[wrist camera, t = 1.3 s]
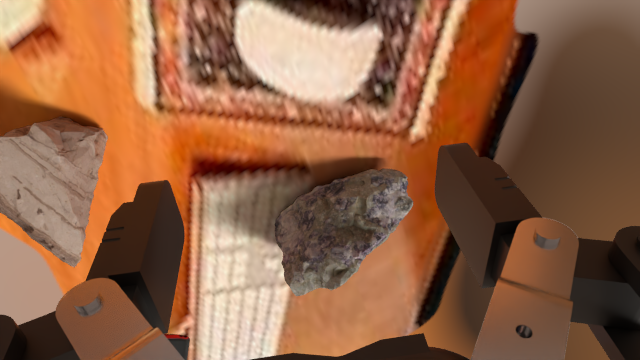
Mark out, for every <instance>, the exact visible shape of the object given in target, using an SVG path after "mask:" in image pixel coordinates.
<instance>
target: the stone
mask: <svg viewBox="0 0 640 360" xmlns="http://www.w3.org/2000/svg"><path fill="white" fill-rule="evenodd" d="M107 139H108V137H107V135H106V134H105V132H104V131H103V129H102V128H96V127H90V126H82V125H80V124H78V123H76V122H73V121H72V119H69V118H63V117H58V118H55V119H52V120H49V121H45V122H39V123H34V124H33V125H30V126H26V127H22V128H19V129H14V130H11V131H9V132H7V133H5V135H4V136H0V213H2V214H4V215H6V216H7V217H8V218H9V219H11V220H13V221H14V222H15V223H16V224H18V225H19V226H20V227H21V228H22V229H23V230H24V231H25V232H26V233H27V234H28V235H29V236H30V237H31V238H32V239H33V240H35V241H37V242H38V243H40V244H41V245H42V246H43V247H45V248H46V249H47V250H49V251H51V252H52V253H53V254H54V255H55V256H57V257H58V258H59V259H60V260H62V261H63V262H66V263H68V264H69V265H70V266H73V267H75V266H76V265H77V264H78V263H79V262H80V260H81V252H82V248H83V243H84V240H85V229H86V226H87V225H88V222H89V220H88V218H89V211H90V205H91V202H92V199H93V196H94V195H93V192H94V190H95V187H96V184H97V181H98V169H99V167H100V166H101V164H102V161H103V155H104V151H105V146H106V142H107Z"/></svg>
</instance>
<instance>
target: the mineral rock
mask: <svg viewBox="0 0 640 360" xmlns="http://www.w3.org/2000/svg"><path fill="white" fill-rule="evenodd" d="M407 185H408V181H407V176H406V175H404V174H403V173H402V172H400V171H397V170H393V169H381V170H380V171H378V170H375V169H370V170H367V171H364V172H361V173H358V174H355V175H353V176H347V177H345V178H344V179H337V180H334V181H333V182H332V183H330V184H326V185H324V186H317V187H315V188H314V189H313V191H311V192H310V193H307V194H304V195H301V196H299V197H298V198H297V199H296V200H295V202H294V203H293V204H292V205H290V206H289V207H288V208H286V209H285V210H284V211H282V212H281V214H280V215H279V217H278V218H277V219H276V223H275V226H276V228H275V236H276V241H277V244H278V246H279V247H280V249H281V250H282V251H283V261H282V265H283V268H284V271H285V272H284V277H285V281H286V283H287V284H288V285H289V286H290V288H291V290H292V292H293V293H294V294H295V295H296V296H300V295H304V294H306V293H308V292H310V291H312V290H315V289H317V288H328V289H330V290H333V289H336V288H338V287H339V286H341V285H343V284H344V283H345V282H346V281H347V280H348V279H349V278H350V277H351V276H352V275H353V274H354V273H356V272H357V271H358V269H359V267H360V264H361V262H362V261H363V259H365V257H366V255H368V254H369V253H371V252H372V251H373V250H374V249H375V248H377V247H378V246H380V245H381V244H382V243H383V242H384V241H386V240H387V239H388V237H389V235H390V233H392V232H394V231H395V229H396V227H397V226H398V224H399V222H400V221H401V220H403V219H404V217H405V215H406V214H407V213H408V212H409V211H410V209H411V208H412V206H413V201H412V199H411V198H410V197H408V196H407V195H408V194H407V192H406V190H407Z"/></svg>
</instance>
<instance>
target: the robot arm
mask: <svg viewBox="0 0 640 360" xmlns="http://www.w3.org/2000/svg"><path fill="white" fill-rule="evenodd" d="M435 197H436V202H437V205H438V208H439V209H440V211H441V213H442V215H443V217H444V219H445V221H446V223H447V224H448V226H449V228H450V230H451V232H452V234H453V236H454V238H455V239H456V241H457V243H458V245H459V247H460V249H461V251H462V253H463V254H464V256H465V258H466V260H467V262H468V264H469V266H470V268H471V269H472V271H473V273H474V275H475V277H476V279H477V281H478V283H479V284H480V286H481V288H487V287H494V286H495V290H494V292H493V296H492V298H491V301H490V304H489V307H488V310H487V314H486V316H485V319H484V322H483V325H482V328H481V331H480V334H479V337H478V340H477V343H476V346H475V349H474V352H473V354H472V357H471V360H564V356H565V350H566V344H567V338H568V332H569V326H570V322H577V323H585V324H588V325H589V327H590V329H591V330H592V332H593V333H594V335H595V337H596V338H597V340H598V341H599V343H600V344H601V346H602V347H603V349H604V351H605V352H606V354H607V355H608V357H609V358H610V360H640V226H630V227H626V228H622V229H621V230H619V231H618V232H617V234H616V236H615V238H614V240H613V242H612V241H601V240H590V239H582V238H577V236H576V234H575V233H574V232H573V231H572V230H571V229H570V228H569V227H567V226H566V225H564V224H562V223H560V222H558V221H555V220H552V219H548V218H542V217H541V215H540V214H539V213H538V212H537V210H536V209H535V208H534V207H533V205H532V204H531V203H530V202H529V200H528V199H527V198H526V197H525V196H524V194H523V193H522V192H521V191H520V189H519V188H517V187H516V184H515V183H514V182H513V181H512V179H509V176H508V174H507V173H506V172H505V171H504V169H503V168H502V167H501V166H500V165H498V164H497V163H495V162H494V161H492V160H490V159H489V158H487V157H480V158H478V156H477V155H476V154H475V152H474V151H473V150H472V148H471V147H470V146H469V145H468V144H467V143H460V144H452V145H444V146H441V147H440V148H439V152H438V161H437V170H436V180H435ZM183 245H184V226H183V221H182V218H181V215H180V212H179V209H178V206H177V203H176V200H175V197H174V194H173V191H172V188H171V185H170V183H169V182H168V181H167V180H164V181H156V182H148V183H141V184H140V185H139V186H138V189H137V192H136V195H135V198H134V201H133V202H127V203H123V204H122V205H121V206H120V207H119V208H118V209H117V210H116V211H115V213H114V214H113V215H112V216H111V218H110V221H109V223H108V226H107V228H106V232H105V233H104V236H103V238H102V243H100V246H99V248H98V251H97V254H96V256H95V259H94V261H93V264H92V266H91V269H90V271H89V274H88V276H87V279H86V281H85V282H83V283H81V284H79V285H77V286H75V287H74V288H72V289H71V290H70V291H68V292H67V293H66V294H65V295H64V296H63V297H62V299H61V300H60V301H59V303H58V305H57V308H56V311H54V312H52V313H49V314H47V315H44V316H42V317H39V318H37V319H34V320H31V321H29V322H26V323H24V324H21V325H17V324H16V323H15V321H14V320H13V319H12V318H11V317H9V316H6V315H0V360H184V359H183V357H182V356H181V355H180V354H179V352H178V351H177V350H176V349H175V348H174V346H173V345H172V344H171V343H170V341H169V340H168V339H167V338H166V336H165V335H164V334H166V333H168V328H169V323H170V317H171V311H172V306H173V300H174V295H175V289H176V284H177V278H178V272H179V267H180V261H181V256H182V250H183ZM251 360H469V359H468V358H466V357H464V356H461V355H459V354H457V353H454V352H451V351H448V350H445V349H440V348H435V347H428V345H427V342H426V339H425V336H424V334H423V333H422V334H416V335H409V336H402V337H396V338H389V339H383V340H380V341H377V342H375V343H372V344H370V345H367V346H365V347H363V348H360V349H358V350H355V351H353V352H351V353H348V354H346V355H343V356H339V357H332V356H321V355H309V354H298V353H290V354H284V355H277V356H271V357H264V358H258V359H251Z"/></svg>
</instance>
